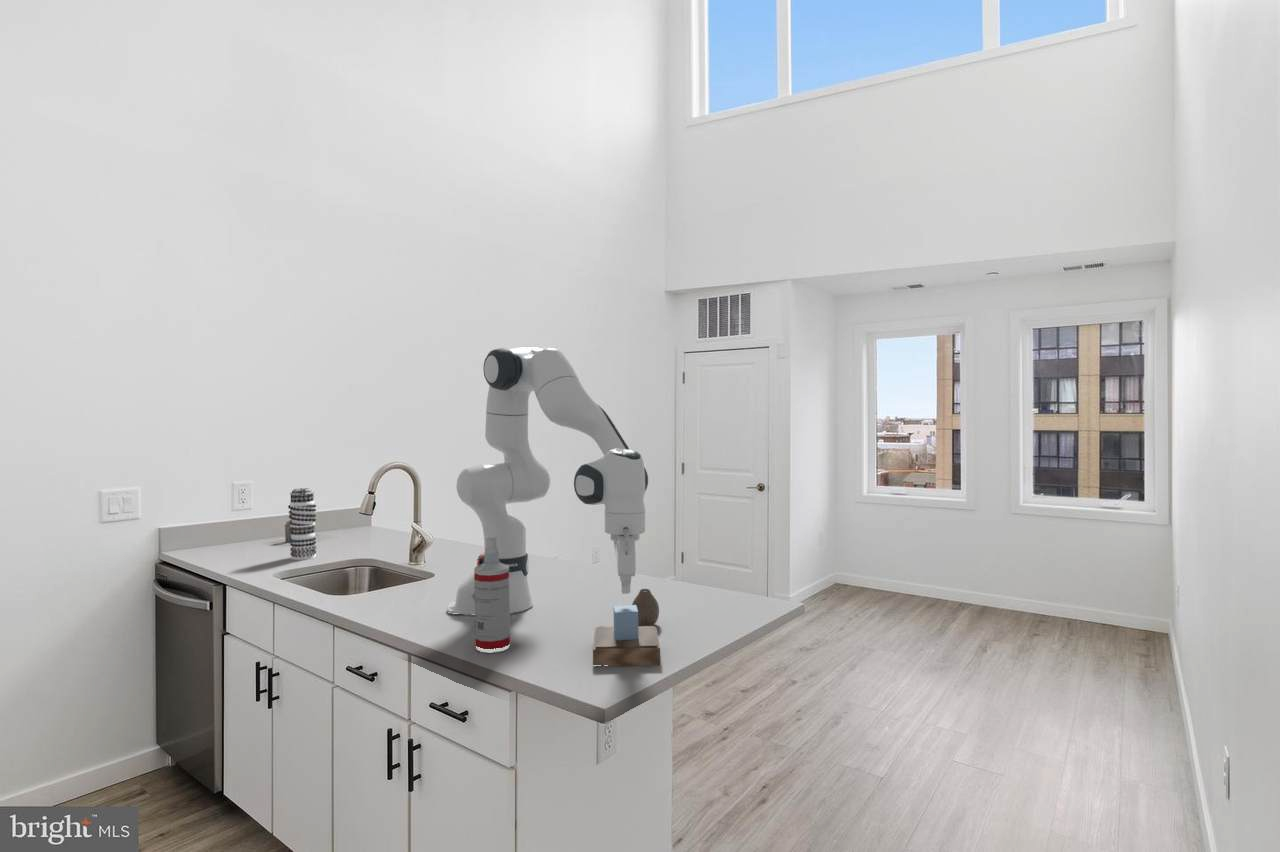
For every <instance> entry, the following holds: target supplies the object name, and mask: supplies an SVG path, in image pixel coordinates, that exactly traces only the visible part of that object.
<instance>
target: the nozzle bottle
mask: <svg viewBox="0 0 1280 852" xmlns="http://www.w3.org/2000/svg"><path fill="white" fill-rule="evenodd" d="M483 554H484V563H483V564H481V565H479V566H475V567H474V571H473V573H474V585H475V616H474V630H475V631H474V637H475V638H474V639H475V640H474V641H475V644H474V646H477V647H480V648H483V649H494V648H495V649H496V648H503V647H505V646H508V645H509V644H510V645H511V614H510V591H509V565H505V564H503V563H500V561H499V551H498V549H497V537H492V538H486V549H485V548H484V553H483Z"/></svg>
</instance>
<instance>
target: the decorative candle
mask: <svg viewBox="0 0 1280 852" xmlns="http://www.w3.org/2000/svg"><path fill="white" fill-rule="evenodd" d="M314 493H315V492H314V491H313V490H312V489H311V488H310V487H309V488H308V487H298V488H294V489H293V490H291V492H290V493H289V495H290V502H289V503H290V504H289V505H288V506H287V507H288V509H289V511H288V514H289V515H288V518H289V519H290V520H288V521H289V522H290V524H291V525H290V527H291V528H292V529H291V531H292V533H291V538H292V539H290V541H291V542H290V543H289V544H290V559H291V560H292V561H294V560H295V561H301V560H302V561H304V560H310V559H314V558H316V557H317V555H316V554H317V550H316V549H317V546H316V543H317V541H315V540H316V539H317V537H316V531H315V532H314V525H315V526H316V522H315V523H314V521H317V519H316V518H315V517H316V516H317V515H316V514H315V513H314V512H316V511H317V509H315V508H316V507H317V505H316V504H315V500H314Z"/></svg>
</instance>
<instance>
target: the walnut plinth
mask: <svg viewBox="0 0 1280 852" xmlns="http://www.w3.org/2000/svg"><path fill="white" fill-rule="evenodd" d="M593 634H594V635H593V646H592V666H593V665H601V666H602V667H605V666H604V665H608V666H607V667H634V666H635V667H639V666H642V667H643V666H647V667H648V666H661V647H660V642H659V641H660V639H659V636H658V635H659V634H658V628H657V626H655V625H653V626H638V639H631V640H615V636H614V626H597V627H595V628H594V633H593Z"/></svg>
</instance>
